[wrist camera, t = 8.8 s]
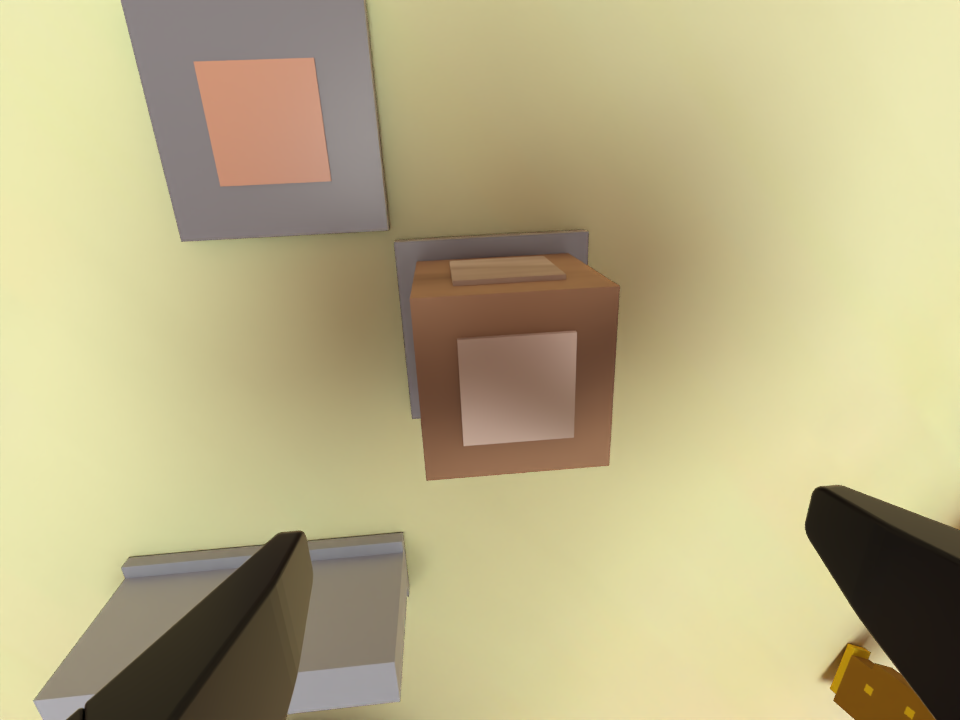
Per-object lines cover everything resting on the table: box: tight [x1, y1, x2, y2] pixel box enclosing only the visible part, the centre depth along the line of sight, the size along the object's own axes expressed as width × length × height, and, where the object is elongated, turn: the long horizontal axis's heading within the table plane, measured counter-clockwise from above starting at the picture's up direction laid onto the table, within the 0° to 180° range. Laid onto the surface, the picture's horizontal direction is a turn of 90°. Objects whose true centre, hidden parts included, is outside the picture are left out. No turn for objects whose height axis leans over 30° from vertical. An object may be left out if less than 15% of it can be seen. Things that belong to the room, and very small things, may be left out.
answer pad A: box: [394, 230, 589, 419], centre depth 20 cm, size 7×7×1 cm
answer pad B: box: [121, 0, 390, 242], centre depth 16 cm, size 7×7×1 cm
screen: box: [33, 532, 409, 720], centre depth 20 cm, size 12×3×6 cm, turn 92°
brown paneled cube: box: [410, 253, 620, 481], centre depth 17 cm, size 6×6×6 cm
